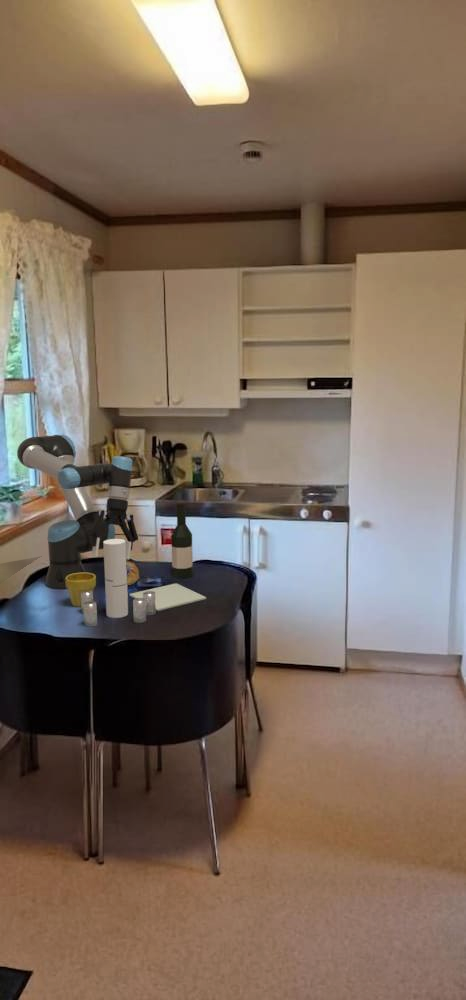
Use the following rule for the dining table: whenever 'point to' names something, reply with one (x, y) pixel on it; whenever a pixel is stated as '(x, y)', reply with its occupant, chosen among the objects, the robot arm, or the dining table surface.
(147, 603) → the lit candle cluster
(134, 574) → the croissant
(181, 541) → the wine bottle
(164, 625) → the dining table surface
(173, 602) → the sage board
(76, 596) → the plant pot
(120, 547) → the cylindrical container
